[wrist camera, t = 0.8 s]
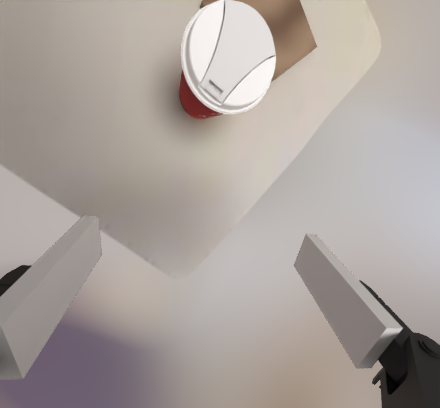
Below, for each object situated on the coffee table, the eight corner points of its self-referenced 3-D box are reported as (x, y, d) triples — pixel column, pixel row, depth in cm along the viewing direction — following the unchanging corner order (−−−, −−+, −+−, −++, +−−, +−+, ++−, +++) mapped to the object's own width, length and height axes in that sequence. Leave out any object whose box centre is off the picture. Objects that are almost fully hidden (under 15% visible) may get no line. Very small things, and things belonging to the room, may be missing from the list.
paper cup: (207, 138, 30) (245, 132, 17) (159, 102, 27) (160, 62, 14) (237, 90, 29) (300, 47, 16) (192, 49, 26) (224, -44, 13)
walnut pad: (200, 6, 25) (201, 1, 25) (274, -47, 26) (279, -55, 25) (249, 97, 30) (252, 96, 29) (312, 49, 31) (317, 46, 30)
